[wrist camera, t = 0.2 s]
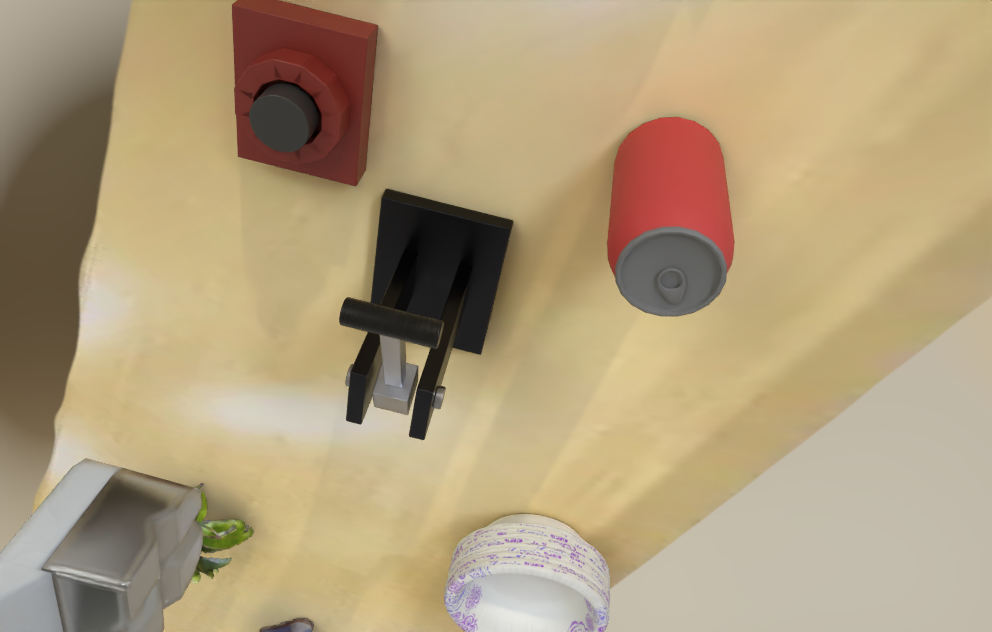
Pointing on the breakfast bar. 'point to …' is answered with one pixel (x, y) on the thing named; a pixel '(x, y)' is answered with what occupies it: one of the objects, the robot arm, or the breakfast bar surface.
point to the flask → (291, 626)
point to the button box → (307, 82)
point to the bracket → (431, 290)
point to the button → (284, 117)
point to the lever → (392, 348)
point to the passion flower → (218, 540)
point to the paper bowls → (527, 579)
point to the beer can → (670, 218)
